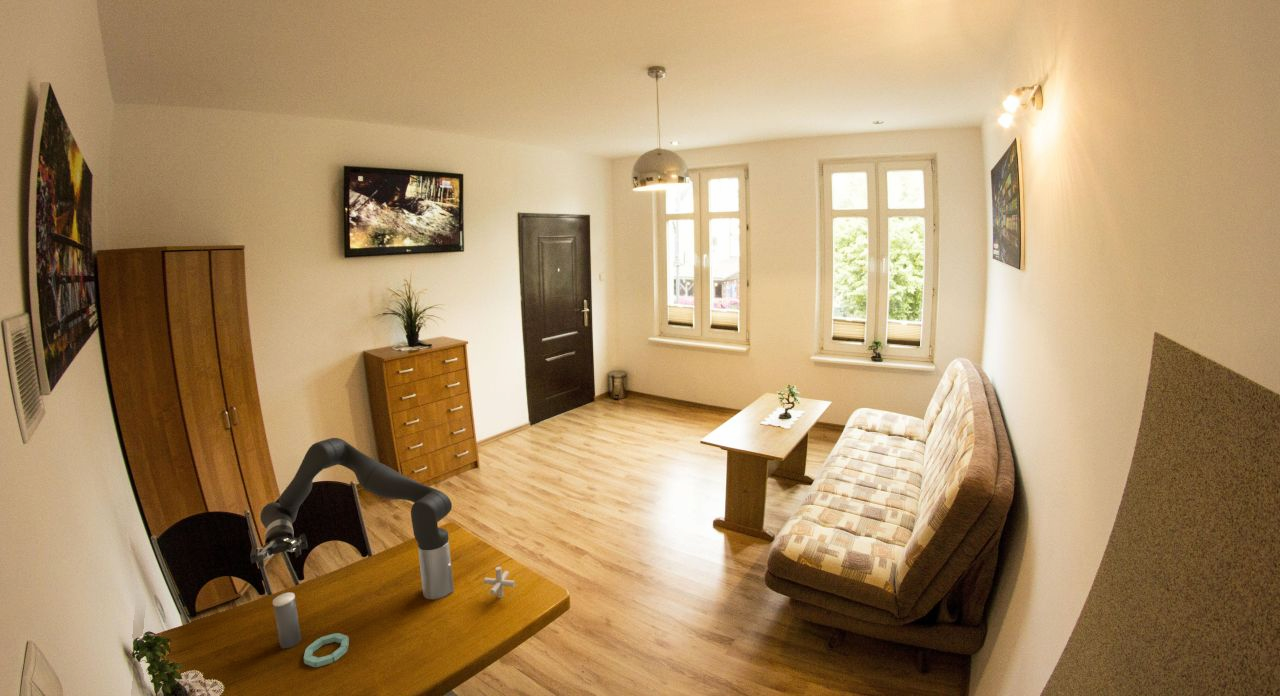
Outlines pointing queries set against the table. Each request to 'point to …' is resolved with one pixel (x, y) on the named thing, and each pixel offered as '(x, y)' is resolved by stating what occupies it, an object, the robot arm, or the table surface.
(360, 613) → the table surface
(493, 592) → the pipe connector
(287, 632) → the cap cylinder
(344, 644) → the barrel ring
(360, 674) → the table surface
